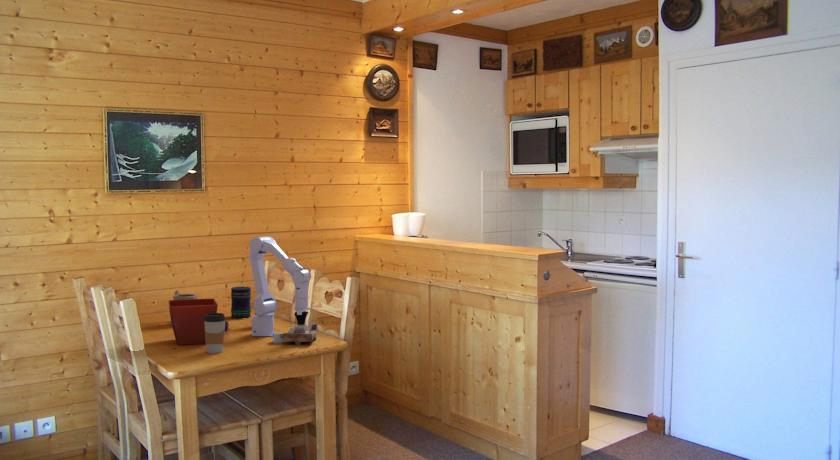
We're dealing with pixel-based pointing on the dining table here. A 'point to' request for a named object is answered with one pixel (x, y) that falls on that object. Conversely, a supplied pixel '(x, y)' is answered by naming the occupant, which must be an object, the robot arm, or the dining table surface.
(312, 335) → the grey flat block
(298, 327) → the rider
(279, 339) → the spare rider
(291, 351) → the dining table surface
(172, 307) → the plant pot
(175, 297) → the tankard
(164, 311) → the dining table surface
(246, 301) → the storage jar
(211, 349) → the coffee cup
